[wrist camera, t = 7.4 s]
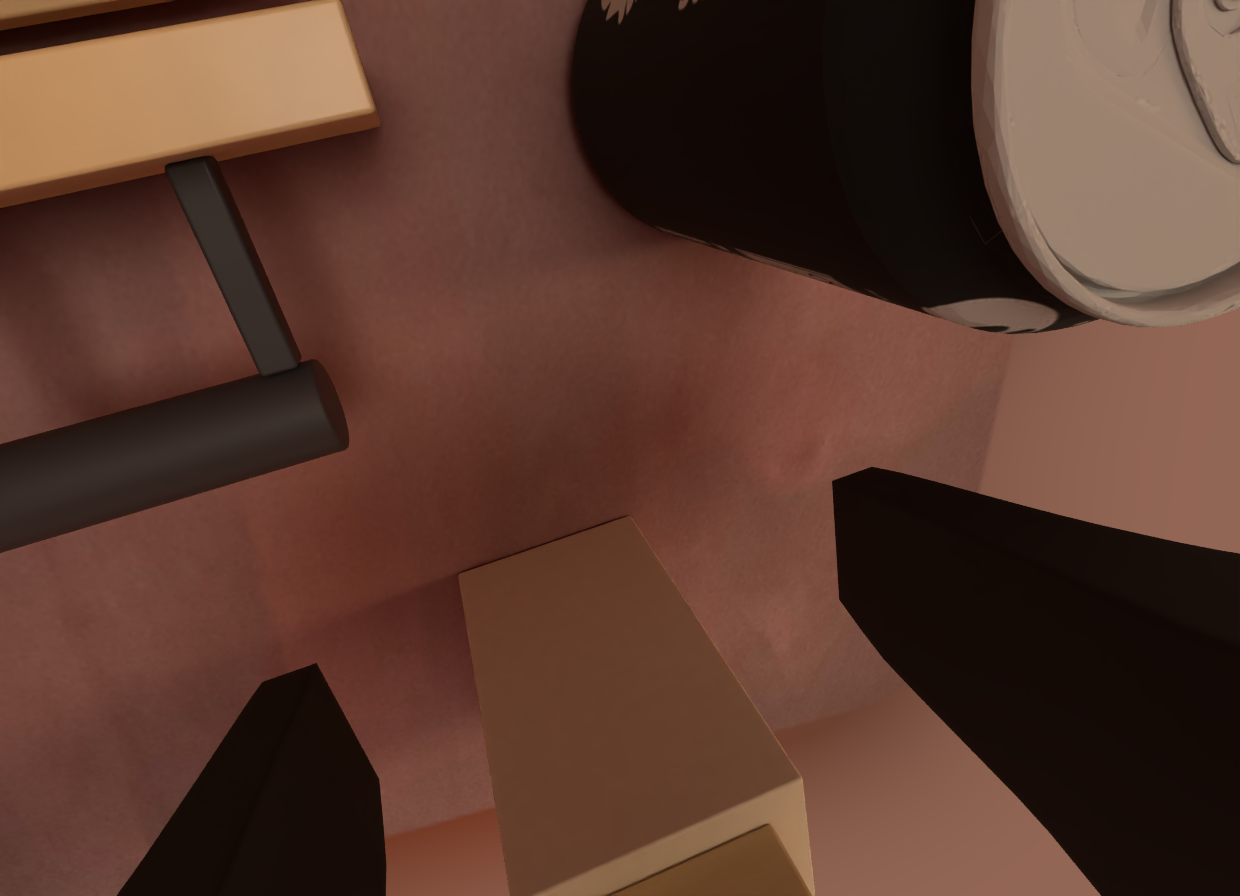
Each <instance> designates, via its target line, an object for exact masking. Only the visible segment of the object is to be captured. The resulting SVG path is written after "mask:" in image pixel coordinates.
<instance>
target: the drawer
mask: <svg viewBox="0 0 1240 896" xmlns="http://www.w3.org/2000/svg"><path fill="white" fill-rule="evenodd" d="M170 1H176V0H0V30H6V29H12V28H18V27H24V26H30V25H36V24H41V23H47V22H53V21H59V20H65V19H71V18H76V17H82V16H88V15H94V14H100V13H106V12H112V11H117V10H123V9H129V8H135V7H141V6H147V5H153V4H158V3H164V2H170ZM380 125H381V122H380V118H379V115H378V112H377V109H376V106H375V103H374V100H373V97H372V94H371V91H370V87H369V84H368V81H367V78H366V75H365V72H364V69H363V66H362V63H361V60H360V56H359V53H358V50H357V47H356V44H355V41H354V38H353V35H352V32H351V29H350V26H349V23H348V20H347V16H346V13H345V10H344V7H343V4H342V2H341V1H340V0H313V1H307V2H301V3H296V4H290V5H284V6H279V7H273V8H268V9H262V10H256V11H251V12H245V13H239V14H234V15H228V16H222V17H217V18H211V19H205V20H200V21H194V22H188V23H183V24H177V25H172V26H166V27H160V28H155V29H149V30H143V31H138V32H132V33H126V34H121V35H115V36H109V37H104V38H98V39H92V40H87V41H81V42H76V43H70V44H64V45H59V46H53V47H47V48H42V49H36V50H30V51H25V52H19V53H13V54H8V55H2V56H0V208H3V207H7V206H12V205H17V204H21V203H26V202H31V201H35V200H40V199H45V198H49V197H54V196H59V195H63V194H68V193H73V192H77V191H82V190H87V189H91V188H96V187H101V186H105V185H110V184H115V183H119V182H124V181H129V180H133V179H138V178H143V177H147V176H152V175H157V174H161V173H166V175H167V177H168V179H169V181H170V183H171V185H172V188H173V190H174V192H175V194H176V196H177V198H178V200H179V203H180V205H181V207H182V209H183V211H184V213H185V215H186V218H187V220H188V222H189V224H190V226H191V228H192V230H193V233H194V235H195V237H196V239H197V241H198V243H199V245H200V247H201V250H202V252H203V254H204V256H205V258H206V260H207V262H208V265H209V267H210V269H211V271H212V273H213V275H214V277H215V280H216V282H217V284H218V286H219V288H220V290H221V292H222V295H223V297H224V299H225V301H226V303H227V305H228V307H229V310H230V312H231V314H232V316H233V318H234V320H235V322H236V324H237V327H238V329H239V331H240V333H241V335H242V337H243V339H244V342H245V344H246V346H247V348H248V350H249V352H250V354H251V357H252V359H253V361H254V363H255V365H256V367H257V369H258V372H259V374H256V375H253V376H249V377H245V378H242V379H238V380H234V381H231V382H227V383H223V384H220V385H216V386H212V387H209V388H205V389H201V390H198V391H194V392H190V393H187V394H183V395H179V396H176V397H172V398H168V399H165V400H161V401H157V402H154V403H150V404H146V405H143V406H139V407H135V408H132V409H128V410H124V411H121V412H117V413H113V414H109V415H106V416H102V417H98V418H95V419H91V420H87V421H84V422H80V423H76V424H73V425H69V426H65V427H62V428H58V429H54V430H51V431H47V432H43V433H40V434H36V435H32V436H29V437H25V438H21V439H18V440H14V441H10V442H7V443H3V444H0V553H2V552H5V551H9V550H12V549H15V548H19V547H22V546H25V545H29V544H32V543H35V542H39V541H42V540H45V539H49V538H52V537H55V536H59V535H62V534H65V533H69V532H72V531H76V530H79V529H82V528H86V527H89V526H92V525H96V524H99V523H102V522H106V521H109V520H112V519H116V518H119V517H122V516H126V515H129V514H132V513H136V512H139V511H142V510H146V509H149V508H152V507H156V506H159V505H163V504H166V503H169V502H173V501H176V500H179V499H183V498H186V497H189V496H193V495H196V494H199V493H203V492H206V491H209V490H213V489H216V488H219V487H223V486H226V485H229V484H233V483H236V482H239V481H243V480H246V479H249V478H253V477H256V476H260V475H263V474H266V473H270V472H273V471H276V470H280V469H283V468H286V467H290V466H293V465H296V464H300V463H303V462H306V461H310V460H313V459H316V458H320V457H323V456H326V455H330V454H333V453H336V452H340V451H343V450H346V449H347V448H348V446H349V433H348V428H347V423H346V419H345V415H344V412H343V409H342V406H341V403H340V400H339V398H338V395H337V392H336V390H335V388H334V385H333V383H332V381H331V379H330V377H329V375H328V373H327V372H326V370H325V369H324V367H323V366H322V364H321V363H320V362H319V361H318V360H315V359H312V360H308V361H304V362H300V361H301V354H300V351H299V349H298V347H297V344H296V342H295V340H294V338H293V335H292V333H291V331H290V328H289V326H288V324H287V321H286V319H285V317H284V314H283V312H282V310H281V307H280V305H279V303H278V300H277V298H276V296H275V294H274V291H273V289H272V287H271V284H270V282H269V280H268V277H267V275H266V273H265V270H264V268H263V266H262V263H261V261H260V259H259V256H258V254H257V252H256V250H255V247H254V245H253V243H252V240H251V238H250V236H249V233H248V231H247V229H246V226H245V224H244V222H243V219H242V217H241V215H240V212H239V210H238V208H237V206H236V203H235V201H234V199H233V196H232V194H231V192H230V189H229V187H228V185H227V182H226V180H225V178H224V175H223V173H222V171H221V168H220V166H219V164H218V162H217V161H222V160H227V159H231V158H236V157H241V156H245V155H250V154H255V153H259V152H264V151H269V150H273V149H278V148H283V147H287V146H292V145H297V144H301V143H306V142H311V141H315V140H320V139H325V138H329V137H334V136H339V135H343V134H348V133H353V132H357V131H362V130H367V129H371V128H376V127H379V126H380Z"/></svg>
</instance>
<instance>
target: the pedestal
mask: <svg viewBox="0 0 1240 896" xmlns="http://www.w3.org/2000/svg"><path fill="white" fill-rule="evenodd" d="M458 578H459V584H460V590H461V596H462V602H463V608H464V615H465V621H466V627H467V633H468V639H469V645H470V652H471V658H472V664H473V670H474V676H475V683H476V689H477V695H478V701H479V707H480V713H481V720H482V726H483V732H484V738H485V744H486V750H487V757H488V763H489V769H490V775H491V781H492V788H493V794H494V800H495V806H496V812H497V818H498V824H499V830H500V837H501V843H502V849H503V855H504V862H505V868H506V874H507V880H508V886H509V892H510V896H610V895H613V894H615V893H617V892H619V891H621V890H624V889H626V888H628V887H630V886H633V885H635V884H637V883H639V882H641V881H644V880H646V879H648V878H650V877H653V876H655V875H657V874H659V873H661V872H664V871H666V870H668V869H670V868H673V867H675V866H677V865H679V864H681V863H684V862H686V861H688V860H690V859H693V858H695V857H697V856H699V855H701V854H704V853H706V852H708V851H710V850H713V849H715V848H717V847H719V846H721V845H724V844H726V843H728V842H730V841H733V840H735V839H737V838H739V837H741V836H744V835H746V834H748V833H750V832H753V831H755V830H757V829H759V828H761V827H764V826H766V825H771V826H772V827H773V828H774V829H775V830H776V832H777V834H778V836H779V837H780V839H781V841H782V843H783V845H784V846H785V848H786V850H787V852H788V853H789V855H790V857H791V859H792V860H793V862H794V864H795V866H796V867H797V869H798V871H799V873H800V875H801V876H802V878H803V880H804V882H805V883H806V885H807V887H808V889H809V890H810V892H811V894H812V896H815V889H814V879H813V871H812V862H811V852H810V843H809V834H808V824H807V815H806V806H805V797H804V788H803V779H802V777H801V775H800V773H799V772H798V770H797V769H796V767H795V766H794V764H793V763H792V761H791V760H790V758H789V757H788V755H787V754H786V752H785V751H784V749H783V748H782V746H781V744H780V743H779V741H778V740H777V739H776V737H775V735H774V734H773V732H772V731H771V729H770V728H769V726H768V725H767V723H766V722H765V720H764V719H763V717H762V715H761V714H760V712H759V711H758V709H757V708H756V706H755V705H754V703H753V702H752V700H751V699H750V697H749V696H748V694H747V693H746V691H745V690H744V688H743V686H742V685H741V683H740V682H739V680H738V679H737V677H736V676H735V674H734V673H733V671H732V670H731V668H730V667H729V665H728V664H727V662H726V661H725V659H724V657H723V656H722V654H721V653H720V651H719V650H718V648H717V647H716V645H715V644H714V642H713V641H712V639H711V638H710V636H709V635H708V633H707V632H706V630H705V628H704V627H703V625H702V624H701V622H700V621H699V619H698V618H697V616H696V615H695V613H694V612H693V610H692V609H691V607H690V606H689V604H688V603H687V601H686V599H685V598H684V596H683V595H682V593H681V592H680V590H679V589H678V587H677V586H676V584H675V583H674V581H673V580H672V578H671V577H670V575H669V574H668V572H667V570H666V569H665V567H664V566H663V564H662V563H661V561H660V560H659V558H658V557H657V555H656V554H655V552H654V551H653V549H652V548H651V546H650V544H649V543H648V541H647V540H646V538H645V537H644V535H643V534H642V532H641V531H640V529H639V528H638V526H637V525H636V523H635V522H634V520H633V519H632V517H631V516H627V517H624V518H621V519H618V520H615V521H612V522H609V523H606V524H603V525H600V526H597V527H595V528H592V529H589V530H586V531H583V532H580V533H577V534H574V535H571V536H568V537H565V538H562V539H560V540H557V541H554V542H551V543H548V544H545V545H542V546H539V547H536V548H533V549H530V550H527V551H524V552H522V553H519V554H516V555H513V556H510V557H507V558H504V559H501V560H498V561H495V562H492V563H489V564H487V565H484V566H481V567H478V568H475V569H472V570H469V571H466V572H463V573H460V574H459V575H458Z"/></svg>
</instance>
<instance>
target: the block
mask: <svg viewBox="0 0 1240 896" xmlns="http://www.w3.org/2000/svg"><path fill="white" fill-rule="evenodd" d="M610 896H812V894H811V892H810V890H809V889H808V887H807V885H806V883H805V882H804V880H803V878H802V876H801V875H800V873H799V871H798V869H797V867H796V866H795V864H794V862H793V860H792V859H791V857H790V855H789V853H788V852H787V850H786V848H785V846H784V845H783V843H782V841H781V839H780V837H779V836H778V834H777V832H776V830H775V829H774V828H773V827H772V826H771V825H766V826H764V827H761V828H759V829H757V830H755V831H753V832H750V833H748V834H746V835H744V836H741V837H739V838H737V839H735V840H733V841H730V842H728V843H726V844H724V845H721V846H719V847H717V848H715V849H713V850H710V851H708V852H706V853H704V854H701V855H699V856H697V857H695V858H693V859H690V860H688V861H686V862H684V863H681V864H679V865H677V866H675V867H673V868H670V869H668V870H666V871H664V872H661V873H659V874H657V875H655V876H653V877H650V878H648V879H646V880H644V881H641V882H639V883H637V884H635V885H633V886H630V887H628V888H626V889H624V890H621V891H619V892H617V893H615V894H613V895H610Z"/></svg>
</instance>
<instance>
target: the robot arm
mask: <svg viewBox="0 0 1240 896" xmlns="http://www.w3.org/2000/svg"><path fill="white" fill-rule="evenodd" d="M832 487H833V504H834V520H835V536H836V553H837V569H838V586H839V600H840V601H841V603H842V604H843V605H844V607H845V608H846V609H847V611H848V612H849V614H850V615H851V616H852V618H853V619H854V621H855V622H856V623H857V625H858V626H859V627H860V629H861V630H862V632H863V633H864V634H865V635H866V637H867V638H868V639H869V641H870V642H871V643H872V644H873V646H874V647H875V648H876V650H877V651H878V652H879V654H880V655H881V656H882V657H883V659H884V660H885V661H886V662H887V663H888V664H889V665H890V666H891V667H892V668H893V669H894V671H895V672H896V673H897V674H898V675H899V676H900V677H901V678H902V679H903V680H904V681H905V682H906V683H907V684H908V685H909V686H910V687H911V688H912V689H913V690H914V691H915V692H916V694H917V695H918V696H919V697H920V698H921V699H922V700H923V701H924V702H925V703H926V704H927V705H928V706H929V707H930V708H931V709H932V710H933V711H934V712H935V713H936V714H937V715H938V716H939V717H940V718H941V719H942V720H943V721H944V722H945V723H946V725H947V726H948V727H949V728H951V730H952V731H953V732H954V733H955V734H956V735H957V736H958V737H959V738H960V739H961V740H962V741H963V742H964V743H965V744H966V745H967V746H968V747H969V748H970V749H971V750H972V751H973V752H974V753H975V754H976V755H977V756H978V757H979V758H980V759H981V760H982V761H983V762H984V763H985V764H986V765H987V766H988V768H990V770H992V771H993V773H994V774H995V775H996V776H997V777H998V778H999V779H1000V780H1001V781H1002V782H1003V783H1004V784H1005V785H1006V786H1007V787H1008V788H1009V789H1010V790H1011V791H1012V792H1013V793H1014V794H1015V795H1016V796H1017V797H1018V798H1019V799H1020V800H1021V802H1022V803H1023V804H1024V805H1025V806H1026V807H1027V808H1028V809H1029V810H1030V812H1031V813H1032V814H1033V815H1034V816H1035V817H1036V818H1037V819H1038V820H1039V821H1040V823H1041V824H1042V825H1043V826H1044V827H1045V828H1046V829H1047V830H1048V831H1049V833H1050V834H1051V835H1052V836H1053V837H1054V839H1055V840H1056V841H1057V842H1058V843H1059V845H1060V846H1061V847H1062V848H1063V850H1064V851H1065V852H1066V853H1067V854H1068V856H1069V857H1070V858H1071V859H1072V861H1073V862H1074V863H1075V864H1076V865H1077V867H1078V868H1079V869H1080V870H1081V872H1082V873H1083V874H1084V875H1085V876H1086V878H1087V879H1088V880H1089V881H1090V882H1091V884H1092V885H1093V886H1094V887H1095V889H1096V890H1097V891H1098V892H1099V893H1100V895H1101V896H1240V554H1238V553H1233V552H1227V551H1221V550H1214V549H1210V548H1205V547H1199V546H1195V545H1189V544H1184V543H1179V542H1174V541H1170V540H1164V539H1160V538H1156V537H1151V536H1147V535H1142V534H1138V533H1134V532H1129V531H1125V530H1120V529H1116V528H1111V527H1107V526H1102V525H1098V524H1094V523H1090V522H1085V521H1082V520H1078V519H1073V518H1070V517H1065V516H1061V515H1057V514H1054V513H1050V512H1046V511H1042V510H1038V509H1034V508H1031V507H1027V506H1023V505H1019V504H1015V503H1012V502H1008V501H1004V500H1001V499H997V498H993V497H990V496H986V495H982V494H979V493H975V492H971V491H968V490H964V489H960V488H957V487H953V486H949V485H946V484H942V483H938V482H935V481H931V480H927V479H923V478H919V477H915V476H912V475H907V474H903V473H899V472H895V471H890V470H885V469H880V468H875V467H870V468H867V469H864V470H862V471H859V472H856V473H853V474H850V475H848V476H845V477H842V478H839V479H836V480H833V481H832ZM117 896H386V854H385V840H384V826H383V816H382V805H381V794H380V784H379V778H378V776H377V775H376V773H375V771H374V769H373V767H372V765H371V763H370V762H369V760H368V758H367V756H366V754H365V752H364V750H363V749H362V747H361V745H360V743H359V741H358V739H357V737H356V736H355V734H354V732H353V730H352V728H351V726H350V724H349V723H348V721H347V719H346V717H345V715H344V713H343V711H342V709H341V708H340V706H339V704H338V702H337V700H336V698H335V696H334V695H333V693H332V691H331V689H330V687H329V685H328V683H327V682H326V680H325V678H324V676H323V674H322V672H321V670H320V669H319V667H318V665H317V663H315V664H312V665H310V666H307V667H304V668H301V669H298V670H295V671H293V672H290V673H287V674H284V675H281V676H278V677H276V678H273V679H270V680H267V681H264V682H262V683H261V685H260V686H259V688H258V689H257V690H256V692H255V693H254V694H253V696H252V697H251V699H250V700H249V702H248V703H247V705H246V706H245V707H244V709H243V710H242V712H241V713H240V715H239V716H238V718H237V719H236V721H235V722H234V724H233V725H232V727H231V728H230V730H229V731H228V733H227V735H226V736H225V738H224V739H223V741H222V742H221V744H220V745H219V747H218V748H217V750H216V751H215V753H214V754H213V756H212V757H211V759H210V760H209V762H208V763H207V765H206V766H205V768H204V769H203V771H202V772H201V774H200V775H199V777H198V779H197V780H196V782H195V783H194V784H193V786H192V787H191V789H190V790H189V792H188V793H187V795H186V796H185V798H184V799H183V801H182V802H181V804H180V805H179V807H178V808H177V810H176V811H175V813H174V814H173V816H172V817H171V818H170V820H169V821H168V823H167V824H166V826H165V827H164V829H163V830H162V832H161V833H160V835H159V836H158V838H157V839H156V841H155V842H154V844H153V845H152V847H151V848H150V850H149V851H148V852H147V854H146V855H145V857H144V858H143V860H142V861H141V863H140V864H139V865H138V867H137V868H136V870H135V871H134V872H133V874H132V875H131V877H130V878H129V879H128V881H127V882H126V883H125V885H124V886H123V888H122V889H121V890H120V892H119V893H118V894H117Z"/></svg>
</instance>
